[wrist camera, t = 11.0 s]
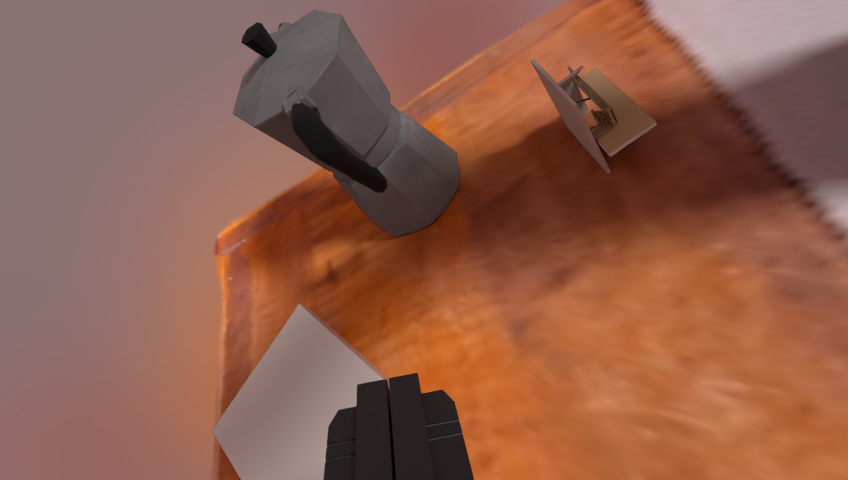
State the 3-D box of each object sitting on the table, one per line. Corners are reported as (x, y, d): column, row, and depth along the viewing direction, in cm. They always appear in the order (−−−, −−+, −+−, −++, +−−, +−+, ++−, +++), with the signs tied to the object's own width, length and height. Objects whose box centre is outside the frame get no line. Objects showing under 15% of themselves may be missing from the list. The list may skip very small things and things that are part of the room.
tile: (421, 405, 34) (316, 312, 43) (404, 398, 32) (299, 303, 42) (316, 568, 32) (231, 435, 42) (293, 568, 31) (211, 430, 41)
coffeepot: (353, 178, 48) (190, 38, 36) (431, 113, 47) (288, -59, 34) (403, 299, 38) (199, 164, 25) (506, 223, 36) (341, 35, 23)
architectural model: (609, 101, 37) (575, 23, 32) (667, 157, 32) (640, 77, 27) (568, 130, 38) (529, 59, 32) (620, 189, 33) (584, 117, 28)
